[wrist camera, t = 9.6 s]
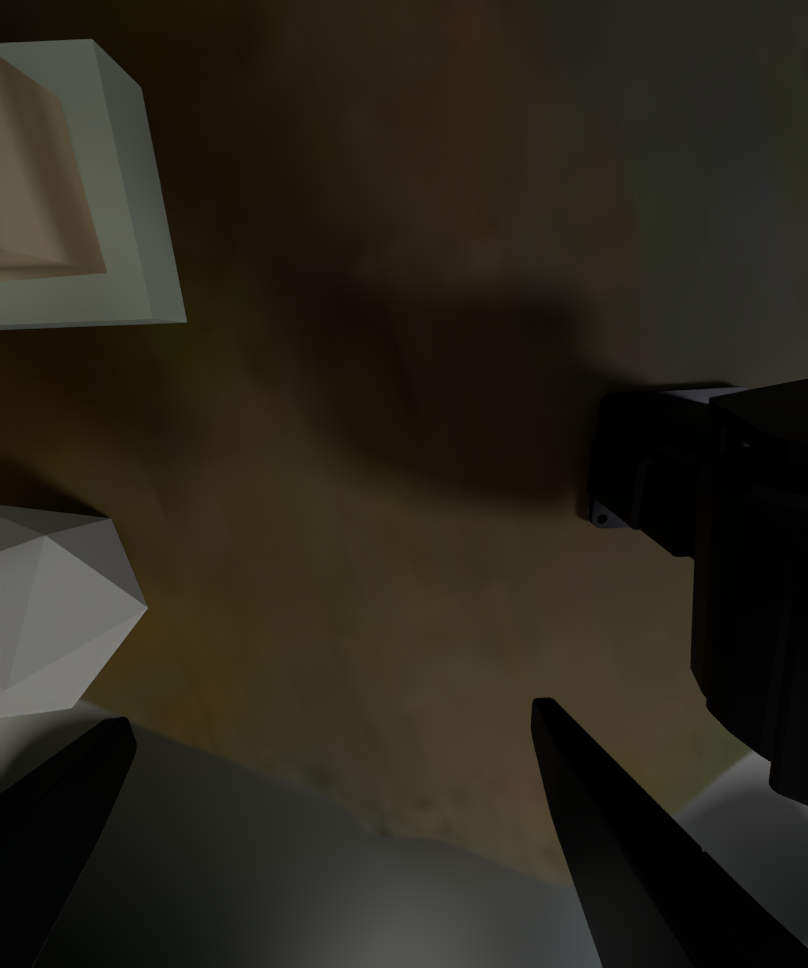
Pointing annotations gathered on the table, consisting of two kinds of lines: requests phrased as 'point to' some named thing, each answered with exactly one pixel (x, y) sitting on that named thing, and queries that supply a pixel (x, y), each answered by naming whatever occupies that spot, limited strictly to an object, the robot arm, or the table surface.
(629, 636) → the table surface
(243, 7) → the table surface
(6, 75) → the maple cube
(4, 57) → the foundation slab
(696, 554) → the robot arm
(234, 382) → the table surface
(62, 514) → the die
